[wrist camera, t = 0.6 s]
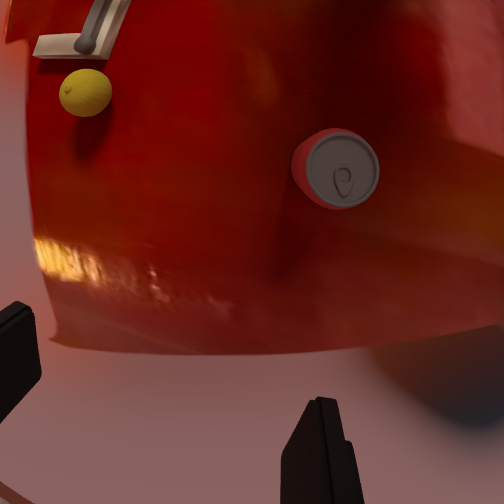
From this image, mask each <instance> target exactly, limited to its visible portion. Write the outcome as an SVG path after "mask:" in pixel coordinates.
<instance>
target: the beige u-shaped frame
mask: <svg viewBox="0 0 504 504" xmlns="http://www.w3.org/2000/svg"><path fill="white" fill-rule="evenodd" d="M130 2H131V0H95V1H94V3H93V5H92V8H91V10H90V12H89V15H88V17H87V19H86V22H85V24H84V27H83V29H82V32H81V33H73V34H56V35H43V36H39V39H38V42H37V45H36V47H35V50H34V53H33V56H35V57H39V58H42V59H59V58H70V59H103V60H108V59H109V56H110V53H111V50H112V48H113V45H114V42H115V39H116V37H117V34H118V31H119V29H120V26H121V24H122V21H123V19H124V16H125V14H126V12H127V9H128V7H129V5H130Z"/></svg>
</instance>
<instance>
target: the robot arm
mask: <svg viewBox="0 0 504 504" xmlns="http://www.w3.org/2000/svg"><path fill="white" fill-rule="evenodd" d="M41 374H42V370H41V365H40V358H39V351H38V343H37V335H36V325H35V316H34V313H33V312H32V310H31V308H30V307H29V306H27V305H26V304H23V303H21V302H19V301H15V302H13V303H12V304H11V305H9V306H7V307H6V308H4V309H3V310H1V311H0V423H1V422H2V421H3V420H4V419H5V418H6V416H7V415H8V414H9V413H10V412H11V411H12V410H13V408H14V407H15V406H16V405H17V404H18V403H19V402H20V401H21V400H22V399H23V397H24V396H25V395H26V394H27V393H28V392H29V391H30V390H31V389H32V388H33V386H34V385H35V384H36V383H37V382H38V381H39V380H40V378H41ZM0 504H34V503H32V502H31V501H29V500H27V499H26V498H24V497H23V496H21V495H20V494H18V493H16V492H15V491H13V490H12V489H10V488H9V487H7V486H6V485H4V484H3V483H2V482H0ZM280 504H364V498H363V493H362V488H361V483H360V478H359V473H358V468H357V463H356V458H355V454H354V449H353V446H352V443H351V442H350V441H346V440H345V438H344V432H343V428H342V423H341V418H340V414H339V409H338V404H337V401H336V399H332V398H325V397H317V398H316V399H315V400H310V401H309V402H308V404H307V406H306V408H305V410H304V412H303V414H302V416H301V418H300V420H299V422H298V424H297V426H296V428H295V430H294V432H293V433H292V435H291V437H290V439H289V441H288V443H287V445H286V446H285V448H284V450H283V452H282V456H281V487H280Z"/></svg>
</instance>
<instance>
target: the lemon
mask: <svg viewBox="0 0 504 504" xmlns="http://www.w3.org/2000/svg"><path fill="white" fill-rule="evenodd" d="M111 95H112V86H111V84H110V81H109V80H108V78H107V77H106V76H105V75H104V74H102V73H101V72H99V71H96V70H92V69H81V70H78V71H75V72H73V73H71V74H70V75H69V76H68V77H67V78H66V79H65V80H64V81H63V83H62V85H61V88H60V93H59V97H60V102H61V104H62V106H63V107H64V108H65V109H66V110H67V111H68V112H70V113H71V114H73V115H76V116H81V117H88V116H93V115H96V114H98V113H100V112H101V111H102V110H104V108H105V107H106V106H107V105H108V103H109V102H110V99H111Z"/></svg>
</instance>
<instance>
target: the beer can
mask: <svg viewBox="0 0 504 504" xmlns="http://www.w3.org/2000/svg"><path fill="white" fill-rule="evenodd" d="M379 169H380V168H379V163H378V159H377V156H376V154H375V152H374V151H373V149H372V147H371V146H370V145H369V144H368V143H367V142H366V141H365V140H364V139H363V138H362V137H361V136H359V135H358V134H356V133H354V132H351V131H349V130H347V129H340V128H330V129H325V130H321V131H320V132H318V133H316V134H314V135H313V136H311V137H309V138H308V139H306V140H305V141H303V142H302V143H301V144H300V145H299V146H298V147H297V148H296V150H295V151H294V154H293V156H292V159H291V171H292V175H293V178H294V180H295V182H296V183H297V185H298V186H299V187H300V189H301V190H302V191H303V192H304V193H305V194H306V195H307V196H308V197H309V198H310V199H311V200H312V201H314V202H315V203H316V204H318V205H320V206H323V207H325V208H327V209H335V210H343V209H347V208H352V207H354V206H356V205H358V204H360V203H362V202H363V201H365V200H367V198H368V197H369V196H370V195H371V194H372V193H373V191H374V190H375V187H376V185H377V183H378V180H379Z"/></svg>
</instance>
